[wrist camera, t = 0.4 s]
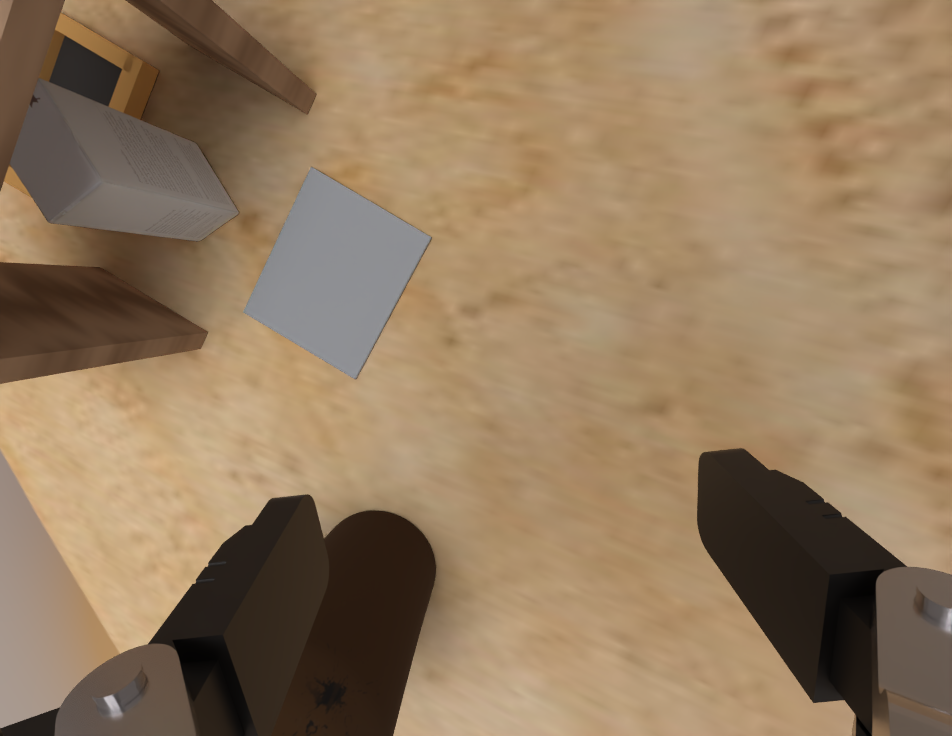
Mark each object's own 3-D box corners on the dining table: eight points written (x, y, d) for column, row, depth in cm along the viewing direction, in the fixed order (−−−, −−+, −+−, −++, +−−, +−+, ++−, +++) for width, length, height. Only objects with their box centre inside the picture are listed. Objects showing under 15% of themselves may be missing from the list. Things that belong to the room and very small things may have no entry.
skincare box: (155, 174, 37) (-23, 120, 25) (198, 142, 36) (35, 71, 24) (199, 245, 37) (45, 225, 26) (242, 215, 37) (104, 179, 25)
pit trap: (7, 175, 38) (-14, 170, 37) (61, 13, 36) (41, 1, 34) (97, 229, 38) (80, 226, 37) (159, 70, 36) (143, 61, 34)
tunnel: (88, 281, 39) (-346, 272, 20) (190, 20, 35) (-233, -311, 16) (206, 351, 39) (-118, 412, 19) (322, 97, 34) (58, -142, 15)
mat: (245, 312, 38) (243, 312, 37) (313, 167, 35) (311, 166, 35) (356, 378, 37) (355, 379, 37) (431, 237, 35) (431, 237, 35)
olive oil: (324, 489, 39) (-26, 822, 15) (453, 517, 38) (309, 923, 14) (310, 607, 41) (-23, 1076, 17) (433, 636, 40) (273, 1180, 16)
